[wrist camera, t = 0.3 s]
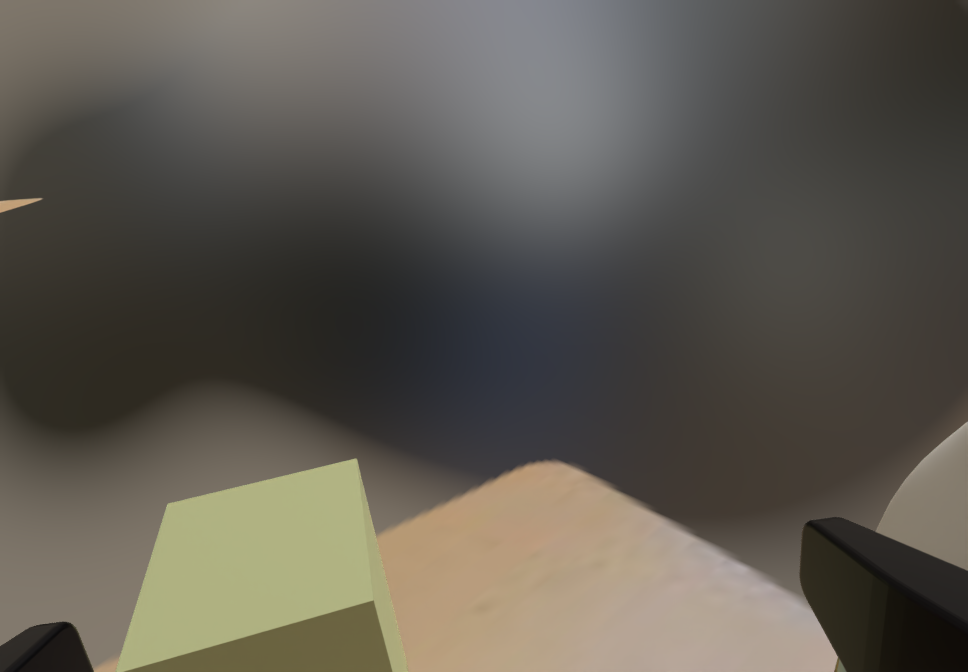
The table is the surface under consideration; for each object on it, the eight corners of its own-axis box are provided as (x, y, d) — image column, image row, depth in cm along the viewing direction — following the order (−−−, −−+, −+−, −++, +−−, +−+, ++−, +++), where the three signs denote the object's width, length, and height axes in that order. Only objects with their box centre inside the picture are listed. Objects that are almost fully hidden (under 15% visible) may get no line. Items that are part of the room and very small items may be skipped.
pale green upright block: (432, 824, 20) (373, 600, 15) (243, 893, 19) (114, 674, 14) (406, 662, 25) (356, 458, 20) (257, 708, 24) (167, 503, 19)
